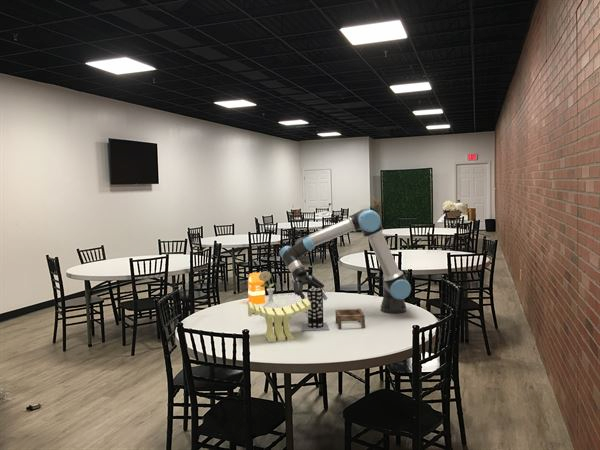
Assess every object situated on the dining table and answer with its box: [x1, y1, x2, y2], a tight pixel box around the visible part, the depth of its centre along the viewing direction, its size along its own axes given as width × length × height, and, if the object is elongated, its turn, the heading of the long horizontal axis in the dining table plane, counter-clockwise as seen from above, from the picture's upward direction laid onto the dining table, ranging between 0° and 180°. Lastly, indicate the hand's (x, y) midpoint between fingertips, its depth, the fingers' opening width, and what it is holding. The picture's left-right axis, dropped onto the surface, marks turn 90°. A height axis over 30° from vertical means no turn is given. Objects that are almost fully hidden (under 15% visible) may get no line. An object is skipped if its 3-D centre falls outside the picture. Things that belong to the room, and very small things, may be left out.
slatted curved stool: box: [247, 298, 311, 343], centre depth 260 cm, size 30×16×18 cm, turn 100°
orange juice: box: [247, 272, 266, 305], centre depth 337 cm, size 8×9×20 cm
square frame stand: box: [334, 308, 366, 330], centre depth 278 cm, size 14×14×7 cm
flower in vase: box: [258, 270, 281, 309], centre depth 313 cm, size 13×11×25 cm
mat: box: [301, 321, 330, 332], centre depth 276 cm, size 14×14×1 cm
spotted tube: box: [306, 287, 324, 328], centre depth 276 cm, size 8×8×20 cm
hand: (317, 301), depth 274 cm, fingers open, 13 cm apart
